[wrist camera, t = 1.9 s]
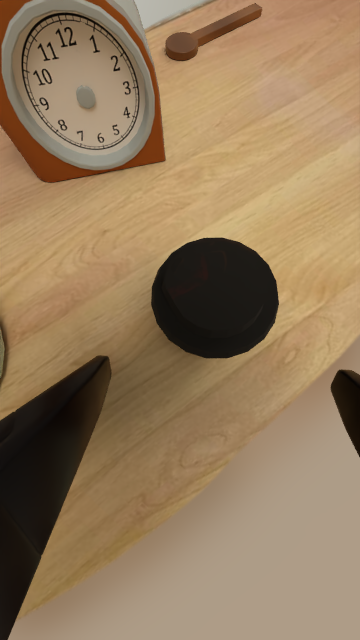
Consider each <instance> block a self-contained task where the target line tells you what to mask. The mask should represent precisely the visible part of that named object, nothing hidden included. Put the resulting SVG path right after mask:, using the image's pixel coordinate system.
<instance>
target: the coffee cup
mask: <svg viewBox="0 0 360 640" xmlns="http://www.w3.org/2000/svg"><path fill="white" fill-rule="evenodd" d="M278 305H279V300H278V291H277V284H276V280H275V278H274V276H273V274H272V271H271V269H270V267H269V265H268V264H267V263H266V262H265V261H264V260H263V259H262V258H261V257H260V256H259V254H258V253H257V252H256V251H254V250H252V249H251V248H249V247H247V246H245V245H244V244H242V243H240V242H237V241H233V240H229V239H225V238H203V239H199V240H196V241H192V242H189V243H186V244H185V245H183V246H182V247H180V248H179V249H177V250H176V251H174V252H173V253H172V254H171V255H170V256H169V257H168V259H167V260H166V261H165V262H164V263H163V265H162V266H161V267H160V268H159V270H158V272H157V275H156V277H155V280H154V283H153V285H152V299H151V306H152V309H153V312H154V315H155V319H156V322H157V324H158V325H159V327H160V328H161V330H162V331H163V332H164V334H165V335H166V336H167V338H168V339H169V340H170V341H172V342H173V343H174V344H176V345H177V346H179V347H180V348H181V349H183V350H184V351H185V352H188V353H191V354H194V355H198V356H201V357H204V358H230V357H233V356H236V355H239V354H242V353H245V352H248V351H249V350H250V349H252V348H253V347H254V346H256V345H257V344H258V343H260V342H261V341H262V340H263V339H264V338H265V337H266V335H267V334H268V332H269V331H270V329H271V327H272V326H273V324H274V323H275V319H276V314H277V310H278Z"/></svg>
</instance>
